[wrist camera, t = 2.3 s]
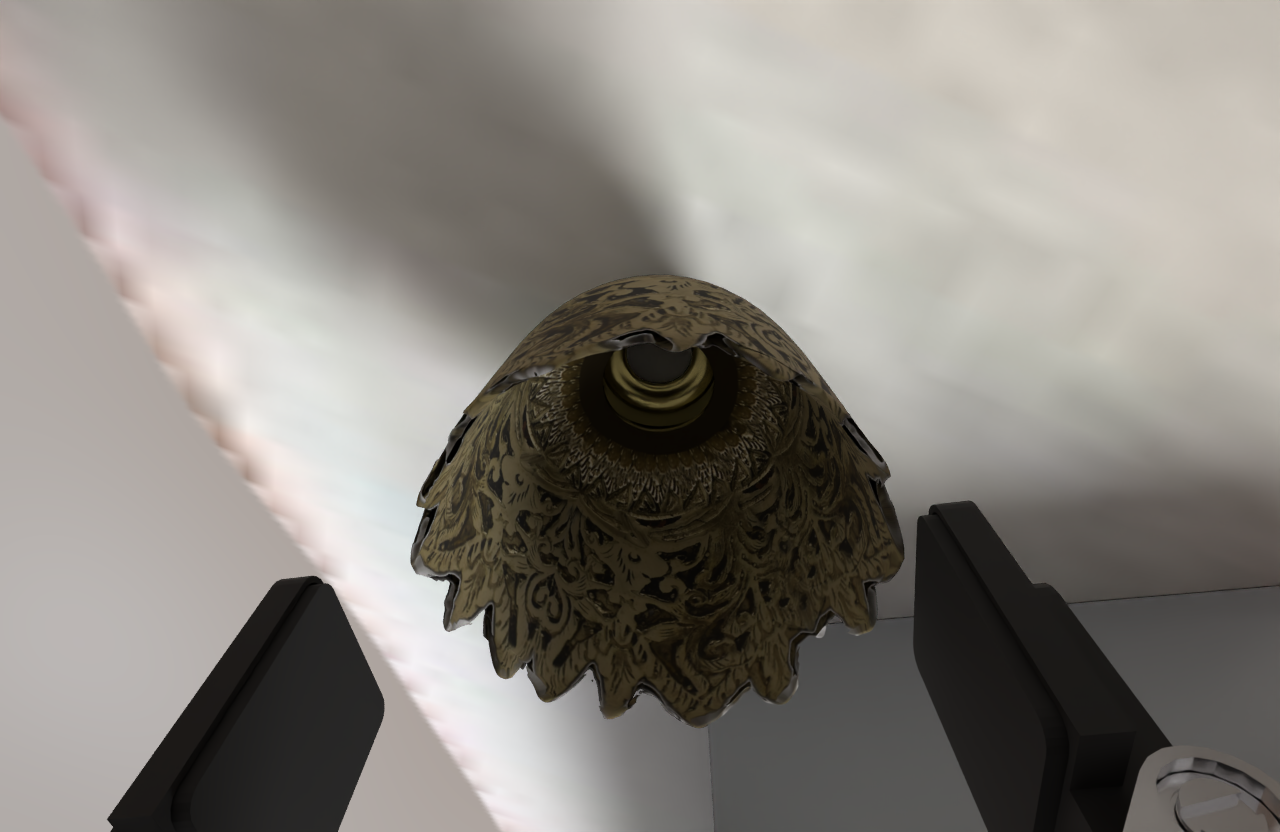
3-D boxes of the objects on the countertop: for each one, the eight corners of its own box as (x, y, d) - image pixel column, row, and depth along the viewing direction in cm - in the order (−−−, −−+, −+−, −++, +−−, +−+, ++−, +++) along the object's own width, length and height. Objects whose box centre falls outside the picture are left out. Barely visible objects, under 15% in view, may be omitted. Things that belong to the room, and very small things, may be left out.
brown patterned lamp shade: (628, 131, 15) (595, 230, 8) (872, 325, 17) (1014, 539, 10) (458, 378, 18) (329, 602, 11) (682, 517, 20) (690, 781, 13)
